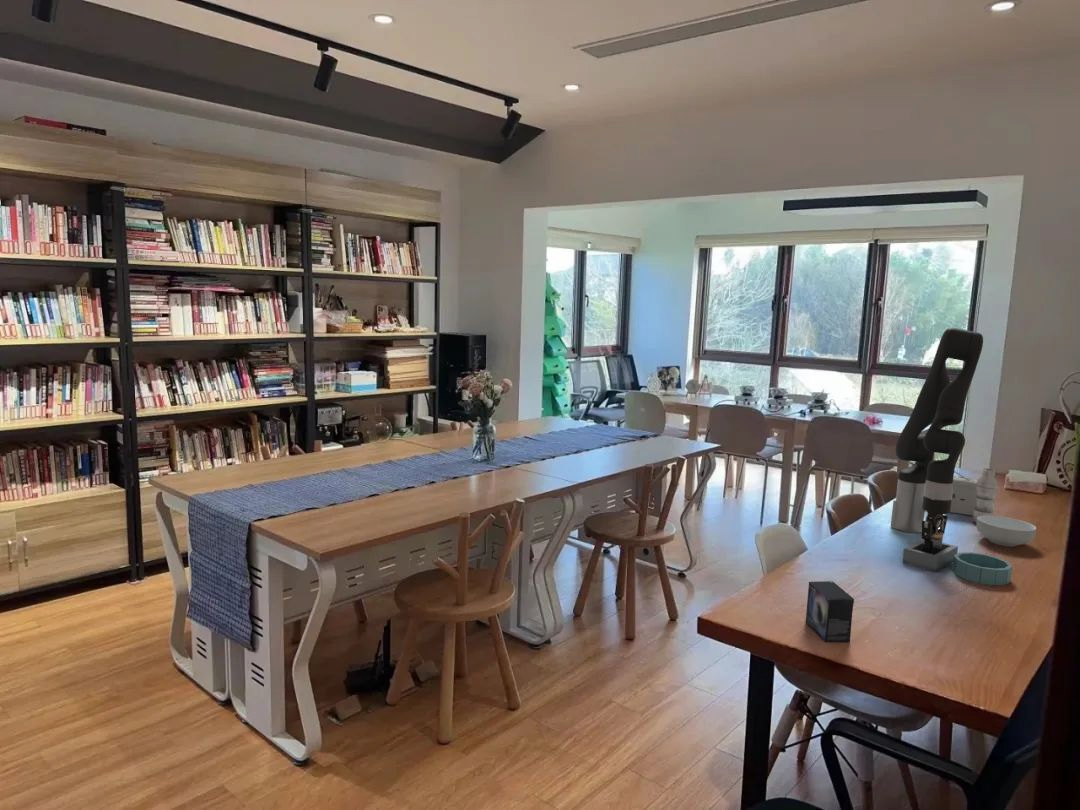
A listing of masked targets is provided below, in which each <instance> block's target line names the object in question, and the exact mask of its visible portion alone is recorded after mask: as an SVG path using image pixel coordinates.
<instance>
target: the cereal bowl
mask: <svg viewBox="0 0 1080 810" xmlns="http://www.w3.org/2000/svg"><path fill="white" fill-rule="evenodd" d="M975 523H976V522H975ZM976 529H977V531H978V532H979V534H980V535H982V537H985V538H986V539H988V540H989V542H990V543H992V544H995V545H998V546H1001V547H1002V546H1003V547H1013V548H1014V547H1017V546H1019V545H1025V544H1029V543H1030V542H1032V541H1033V540H1034V539H1035V537H1036V533H1037V526H1035V525H1033V524H1032V523H1030V522H1028V521H1024V520H1020V519H1018V518H1017V519H1016V518H1012V517H1006V516H998V515H994V516H979V517H977V523H976Z"/></svg>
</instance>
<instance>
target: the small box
mask: <svg viewBox="0 0 1080 810" xmlns="http://www.w3.org/2000/svg"><path fill="white" fill-rule="evenodd" d="M807 590H808V591H807V601H806V614H805V623H806V624H807V625H808V626H809V627H810V628H811V629H812V630H813V632H814V633H816V634H817V636H818V637H820V639H821V640H822V641H823V640H824V641H825V643H850V642H851V634H852V623H853V622H852V621H853V620H852V619H853V611H854V602H855V599H854V598H853V597H852V596H851V595H850V594H849V593H848V592H846V591H845V590H844V589H843V588H841V587H840V586H839V585H838V584H837V583H836V582H834V581H829V580H827V581H821V580H820V581H808V588H807ZM824 641H823V642H824Z"/></svg>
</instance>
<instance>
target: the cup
mask: <svg viewBox="0 0 1080 810" xmlns="http://www.w3.org/2000/svg"><path fill="white" fill-rule="evenodd" d="M951 571H952V572H953V573H954V575H956V576H958V577H960V578H961V579H963V580H966V581H970V582H974V583H977V584H981V585H989V586H1005V585H1006V586H1007V585H1008V584H1010V583H1011V581H1012V575H1013V574H1012V572H1013V565H1012V564H1011V563H1010V562H1009V561H1007V560H1005V559H1003V558H1001V557H997V556H993V555H989V554H985V553H979V552H969V551H966V552H965V551H964V552H957V554H955V555H954V560H953V563H952V570H951Z"/></svg>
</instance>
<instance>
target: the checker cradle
mask: <svg viewBox="0 0 1080 810" xmlns="http://www.w3.org/2000/svg"><path fill="white" fill-rule="evenodd" d="M922 548H923V539H922V538H921V539H920V540H919V541H916V542H915V543H911V544H910V545H908V546H905V547H904V548H903V552H902V553H903V554H902V564H906V565H910V566H912V567H916V568H919V569H924V570H927V571H931V572H934V573H937V572H939V571H941V570H943V569H944V568H946V567H948V566H949V565H951V564H953V560H954V555H955V554H957V553H958V550H959V546H958V545H953V544H950V543H946V542H942V548H941V552H939V553H937V554H935V555H933V554H929V553H925V552H922Z"/></svg>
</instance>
